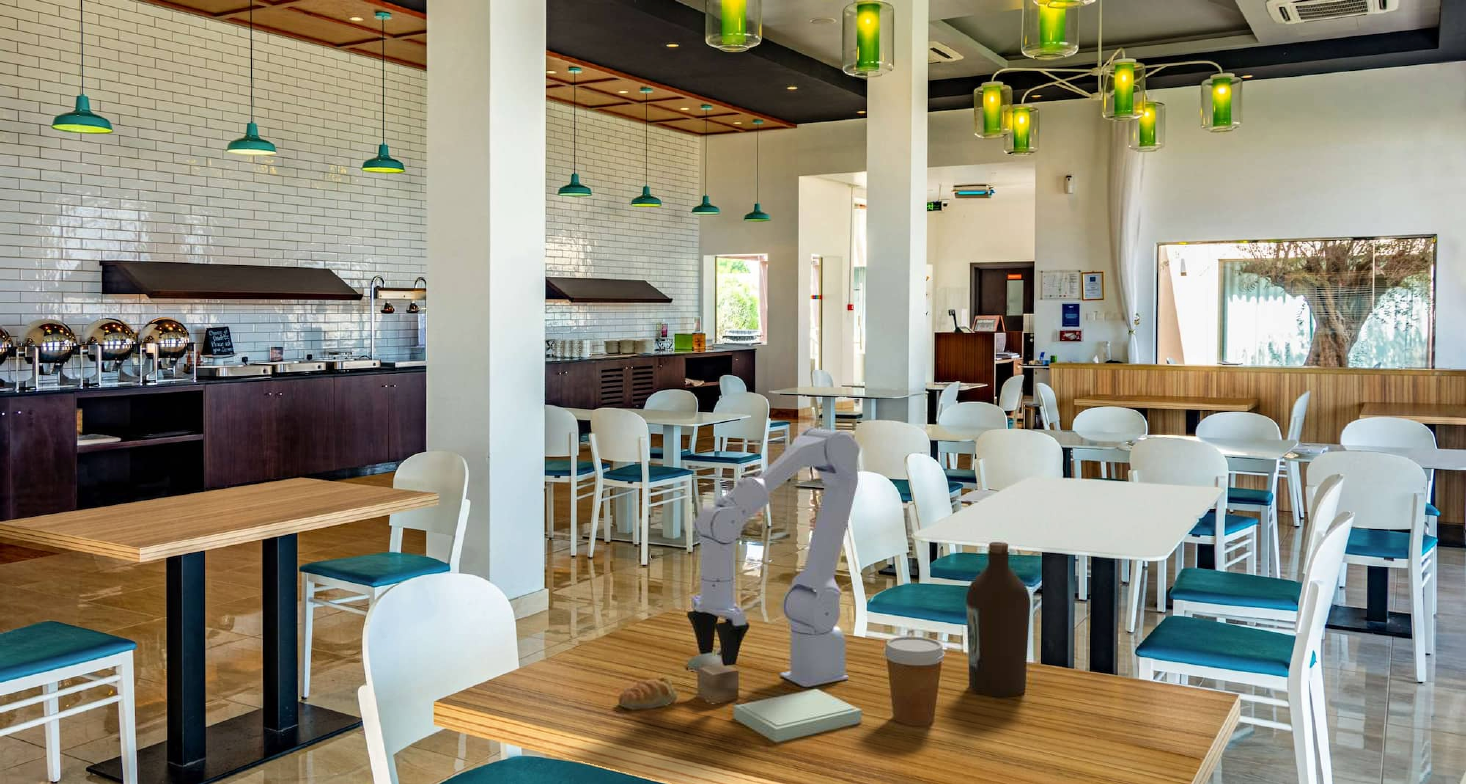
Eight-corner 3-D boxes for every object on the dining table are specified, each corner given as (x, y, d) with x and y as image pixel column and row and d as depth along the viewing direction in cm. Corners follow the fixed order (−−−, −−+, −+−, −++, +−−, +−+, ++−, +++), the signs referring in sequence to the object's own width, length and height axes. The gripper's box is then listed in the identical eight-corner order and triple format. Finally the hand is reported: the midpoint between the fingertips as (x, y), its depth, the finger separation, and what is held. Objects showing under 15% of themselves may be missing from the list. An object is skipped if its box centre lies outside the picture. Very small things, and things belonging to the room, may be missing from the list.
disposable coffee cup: (907, 734, 162) (908, 655, 162) (871, 714, 171) (871, 640, 170) (957, 723, 167) (957, 647, 166) (919, 705, 175) (920, 632, 175)
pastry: (632, 716, 171) (632, 692, 171) (609, 705, 176) (609, 682, 176) (680, 703, 177) (680, 680, 177) (656, 693, 182) (656, 671, 182)
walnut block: (723, 691, 183) (723, 662, 182) (738, 699, 178) (738, 670, 178) (697, 696, 180) (697, 667, 180) (712, 705, 176) (712, 675, 175)
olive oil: (1022, 679, 188) (1024, 538, 187) (1035, 699, 178) (1036, 550, 177) (961, 678, 189) (962, 537, 188) (970, 698, 179) (971, 549, 177)
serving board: (816, 700, 177) (816, 687, 177) (861, 722, 167) (861, 708, 167) (733, 718, 169) (733, 704, 169) (776, 742, 159) (776, 728, 159)
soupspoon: (680, 677, 193) (714, 683, 191) (681, 659, 193) (715, 664, 191) (723, 641, 214) (754, 645, 212) (723, 624, 214) (754, 629, 212)
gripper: (675, 572, 182) (675, 651, 183) (719, 589, 170) (719, 674, 170) (711, 568, 186) (711, 645, 187) (756, 584, 174) (756, 667, 174)
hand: (717, 658), depth 179 cm, fingers open, 7 cm apart
